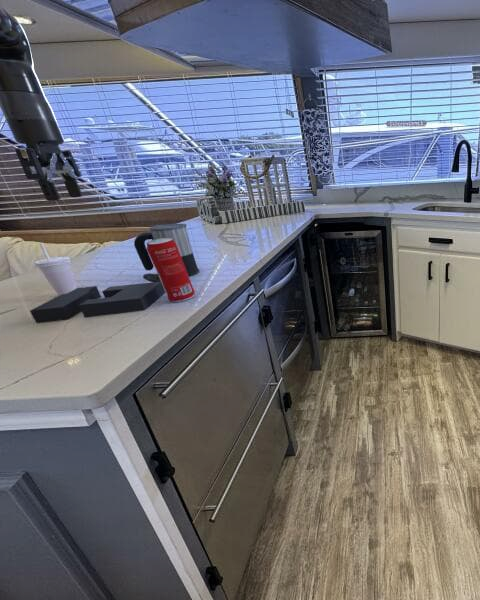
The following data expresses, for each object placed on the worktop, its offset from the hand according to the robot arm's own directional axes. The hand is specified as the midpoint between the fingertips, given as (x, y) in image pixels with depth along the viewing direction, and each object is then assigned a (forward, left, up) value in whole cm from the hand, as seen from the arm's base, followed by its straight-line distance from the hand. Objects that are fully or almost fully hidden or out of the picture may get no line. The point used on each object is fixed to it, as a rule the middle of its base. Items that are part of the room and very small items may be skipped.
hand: (65, 198), depth 74 cm
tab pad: (-4, -7, -25) cm, 26 cm away
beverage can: (+20, -9, -25) cm, 33 cm away
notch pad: (+8, -8, -24) cm, 27 cm away
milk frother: (+12, +10, -25) cm, 29 cm away
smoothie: (-12, +5, -25) cm, 28 cm away
